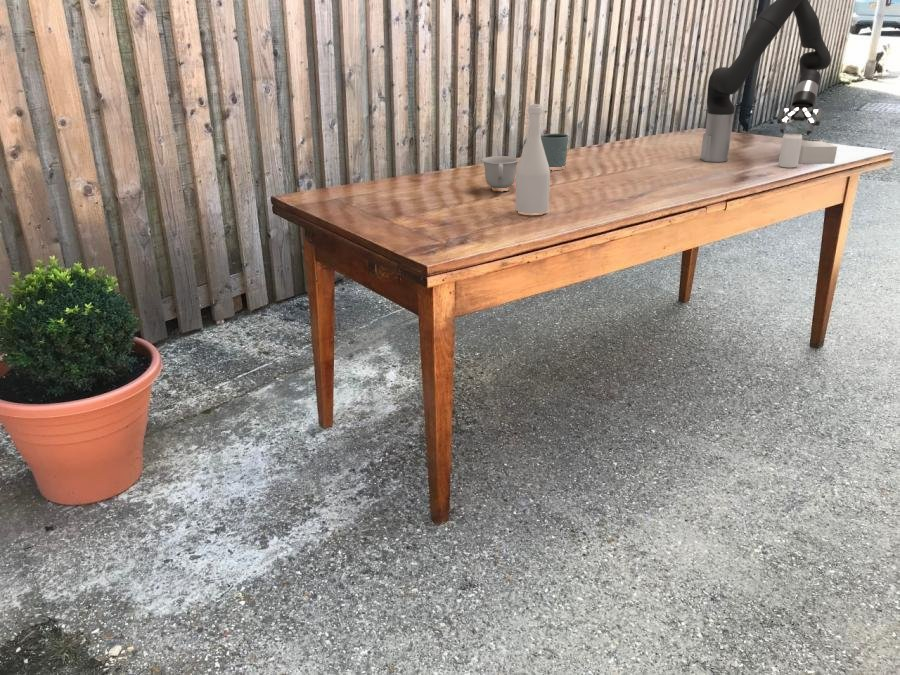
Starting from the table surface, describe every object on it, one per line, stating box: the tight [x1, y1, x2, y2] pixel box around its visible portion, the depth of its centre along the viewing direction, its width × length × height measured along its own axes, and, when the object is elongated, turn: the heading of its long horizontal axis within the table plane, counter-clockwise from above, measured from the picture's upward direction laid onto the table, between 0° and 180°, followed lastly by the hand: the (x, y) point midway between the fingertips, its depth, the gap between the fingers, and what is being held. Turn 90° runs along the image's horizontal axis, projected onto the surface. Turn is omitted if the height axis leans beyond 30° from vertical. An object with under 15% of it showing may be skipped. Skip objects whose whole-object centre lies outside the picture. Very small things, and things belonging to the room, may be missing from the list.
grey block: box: [798, 140, 838, 165], centre depth 271 cm, size 12×12×6 cm
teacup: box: [481, 155, 520, 188], centre depth 232 cm, size 12×15×10 cm
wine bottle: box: [515, 103, 551, 213], centre depth 202 cm, size 10×10×30 cm
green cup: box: [540, 133, 569, 167], centre depth 264 cm, size 10×10×12 cm
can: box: [778, 131, 803, 169], centre depth 260 cm, size 6×6×12 cm
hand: (795, 132), depth 262 cm, fingers open, 8 cm apart
